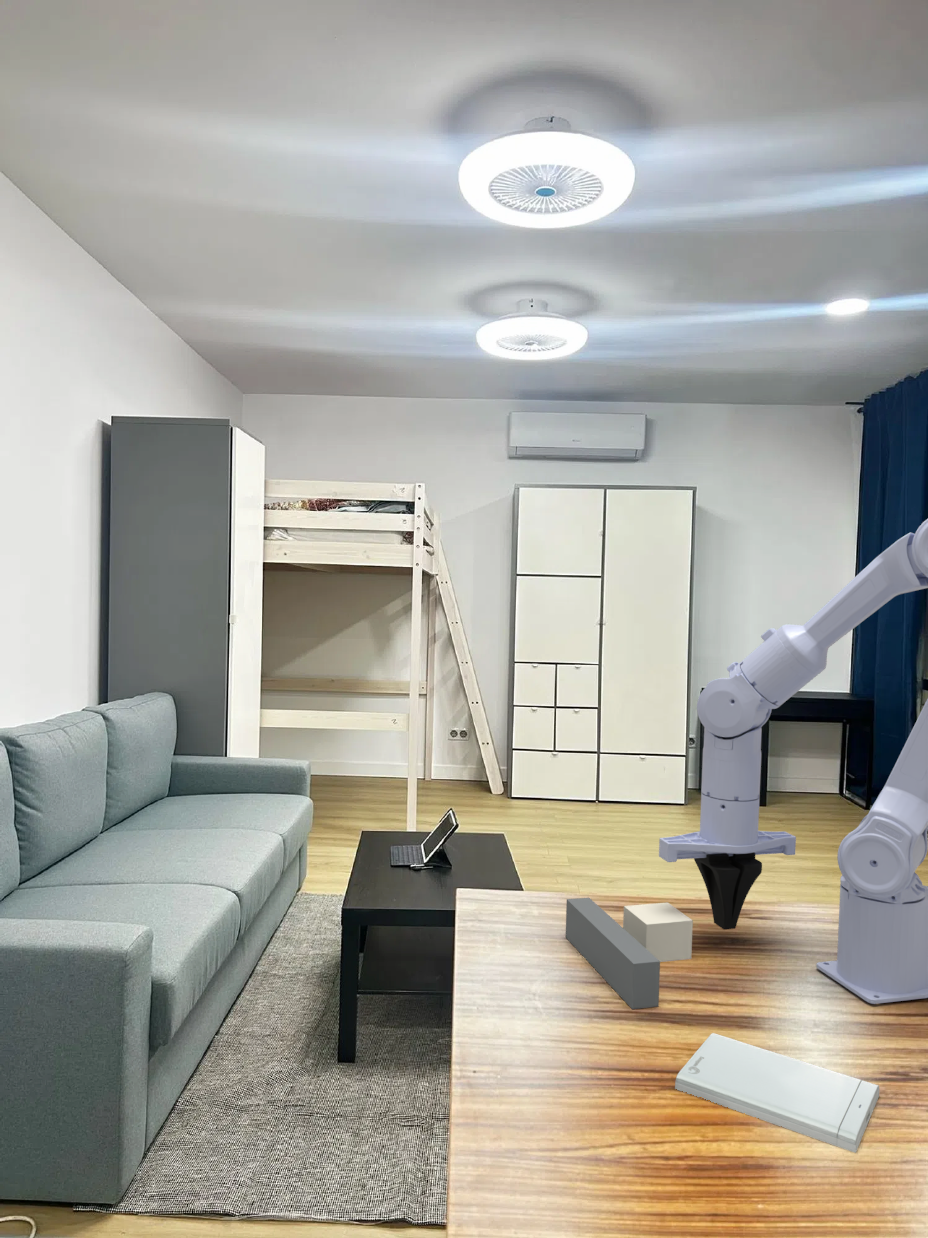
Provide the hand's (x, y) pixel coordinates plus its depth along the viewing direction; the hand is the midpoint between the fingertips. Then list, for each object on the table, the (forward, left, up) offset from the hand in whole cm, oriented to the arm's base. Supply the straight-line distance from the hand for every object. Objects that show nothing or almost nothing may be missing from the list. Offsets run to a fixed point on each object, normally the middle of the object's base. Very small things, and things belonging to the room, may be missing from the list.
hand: (724, 925), depth 93 cm
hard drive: (+10, +25, -3) cm, 27 cm away
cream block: (+8, 0, -2) cm, 8 cm away
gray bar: (+14, +3, -2) cm, 15 cm away
